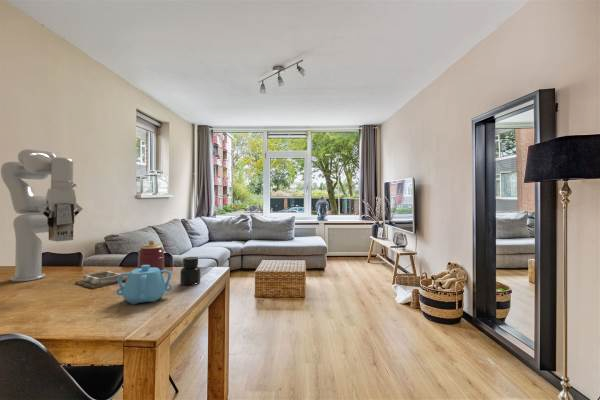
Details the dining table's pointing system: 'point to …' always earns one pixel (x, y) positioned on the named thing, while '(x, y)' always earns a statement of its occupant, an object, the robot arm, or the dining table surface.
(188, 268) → the ink bottle
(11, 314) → the dining table surface
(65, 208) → the coffee box
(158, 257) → the canister
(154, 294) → the decorative pot
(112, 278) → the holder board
